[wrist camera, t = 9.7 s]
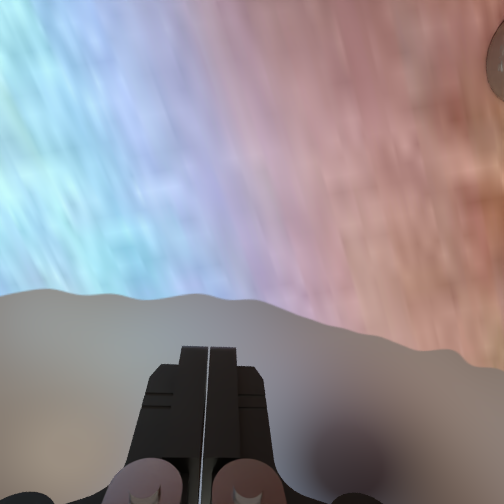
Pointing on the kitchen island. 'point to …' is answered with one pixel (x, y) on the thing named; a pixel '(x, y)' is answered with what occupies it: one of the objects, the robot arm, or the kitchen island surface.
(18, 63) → the kitchen island surface
